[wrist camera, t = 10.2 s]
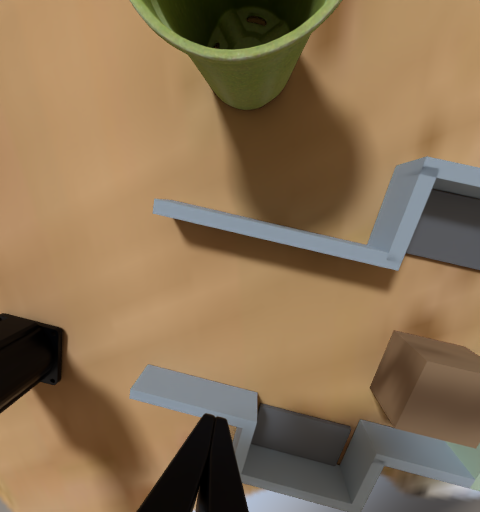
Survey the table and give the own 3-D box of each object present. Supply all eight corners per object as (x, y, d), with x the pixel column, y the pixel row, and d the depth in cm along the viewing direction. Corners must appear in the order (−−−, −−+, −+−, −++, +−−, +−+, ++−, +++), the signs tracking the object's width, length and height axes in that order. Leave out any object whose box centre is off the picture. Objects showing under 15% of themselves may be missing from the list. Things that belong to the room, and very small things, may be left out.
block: (434, 401, 20) (476, 448, 16) (368, 385, 20) (394, 428, 16) (463, 345, 19) (516, 382, 15) (392, 329, 19) (427, 361, 15)
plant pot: (192, -34, 14) (100, -369, 6) (335, -12, 14) (448, -334, 6) (175, 122, 17) (89, 36, 8) (298, 145, 16) (340, 80, 8)
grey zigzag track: (424, 495, 22) (449, 539, 19) (140, 419, 23) (122, 450, 20) (595, 208, 15) (672, 209, 13) (183, 119, 17) (166, 100, 14)
